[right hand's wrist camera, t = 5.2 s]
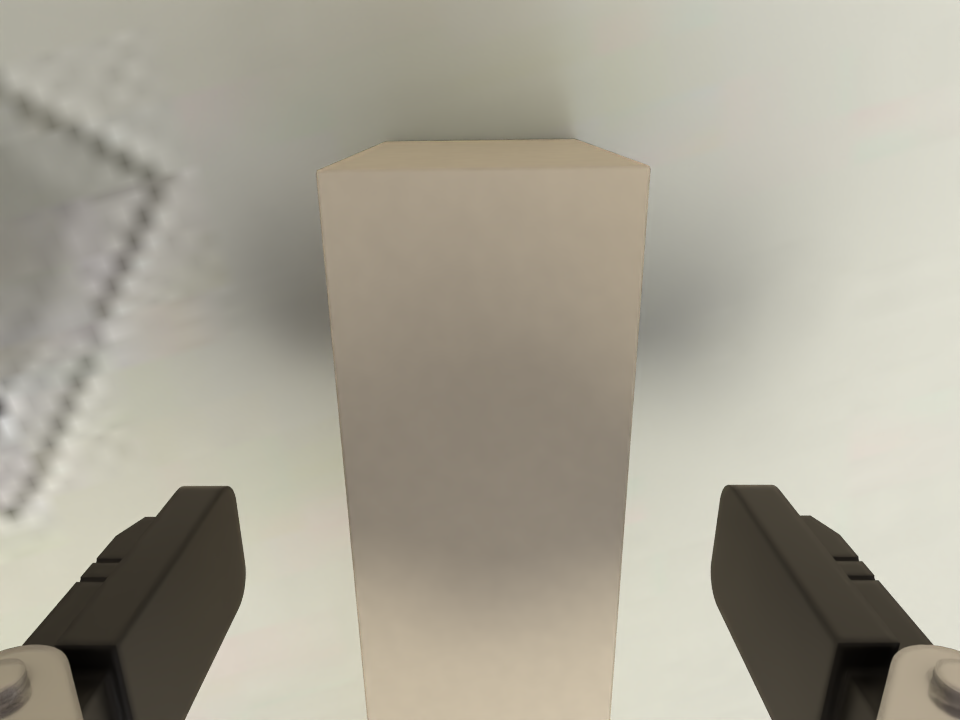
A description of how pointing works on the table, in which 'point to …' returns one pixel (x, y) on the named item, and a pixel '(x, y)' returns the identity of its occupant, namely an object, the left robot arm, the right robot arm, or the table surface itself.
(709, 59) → the table surface
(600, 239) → the bar
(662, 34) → the table surface
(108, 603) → the right robot arm
